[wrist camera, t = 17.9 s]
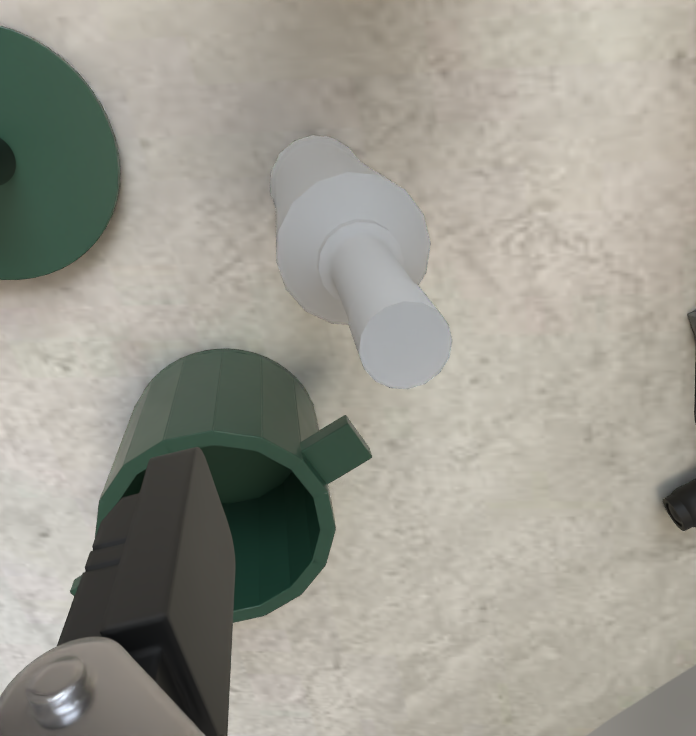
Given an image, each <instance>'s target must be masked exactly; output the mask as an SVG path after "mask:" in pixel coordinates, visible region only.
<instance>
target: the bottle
mask: <svg viewBox="0 0 696 736" xmlns="http://www.w3.org/2000/svg"><path fill="white" fill-rule="evenodd" d="M270 194H271V197H272V199H273V202H274V205H275V208H276V260H277V264H278V267H279V270H280V273H281V276H282V279H283V282H284V284H285V287H286V290H287V291H288V292H289V293H290V294H291V295H292V296H293V298H294V299H295V300H296V301H297V302H298V303H299V304H300V305H301V306H302V308H303V309H304V310H305V311H306V312H309V313H311V314H313V315H315V316H317V317H319V318H321V319H323V320H325V321H328V322H330V323H332V324H348V325H349V327H350V330H351V333H352V337H353V339H354V342H355V345H356V348H357V351H358V353H359V356H360V359H361V362H362V364H363V367H364V369H365V370H366V371H367V372H368V374H369V375H370V376H371V377H372V378H373V379H374V380H375V381H376V382H378V383H381V384H383V385H385V386H387V387H389V388H398V389H410V388H413V387H416V386H419V385H422V384H426V383H427V382H428V381H429V380H431V379H432V378H433V377H435V376H436V375H437V374H439V373H440V372H441V370H442V368H443V367H444V365H445V364H446V362H447V360H448V359H449V357H450V351H451V346H452V336H451V332H450V328H449V324H448V323H447V321H446V320H445V319H444V317H443V316H442V315H441V314H440V312H439V311H438V310H437V308H436V307H435V306H434V305H433V303H432V302H431V301H430V299H429V298H428V297H427V296H426V294H425V293H424V292H423V291H422V289H421V288H420V287H419V284H420V282H421V281H422V279H423V277H424V275H425V274H426V270H427V264H428V257H429V251H430V245H431V242H430V238H429V234H428V230H427V226H426V222H425V218H424V214H423V213H422V211H421V210H420V209H419V207H418V206H417V205H416V203H415V202H414V201H413V199H412V198H411V197H410V195H409V194H408V193H407V191H406V190H405V189H403V188H402V187H400V186H398V185H397V184H395V183H394V182H392V181H391V180H389V179H387V178H386V177H384V176H383V175H381V174H380V173H378V172H376V171H375V170H373V169H372V168H370V167H369V166H367V165H365V164H364V163H362V162H361V161H359V160H358V158H357V157H356V156H355V154H354V153H353V152H352V151H351V149H350V148H349V147H348V146H346V145H344V144H342V143H341V142H339V141H337V140H335V139H334V138H332V137H326V136H316V135H311V136H307V137H304V138H301V139H298V140H295V141H293V142H292V143H291V144H290V145H289V146H287V147H286V148H285V149H284V150H283V151H282V152H281V153H280V154H279V156H278V158H277V160H276V162H275V164H274V166H273V168H272V170H271V182H270Z"/></svg>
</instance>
